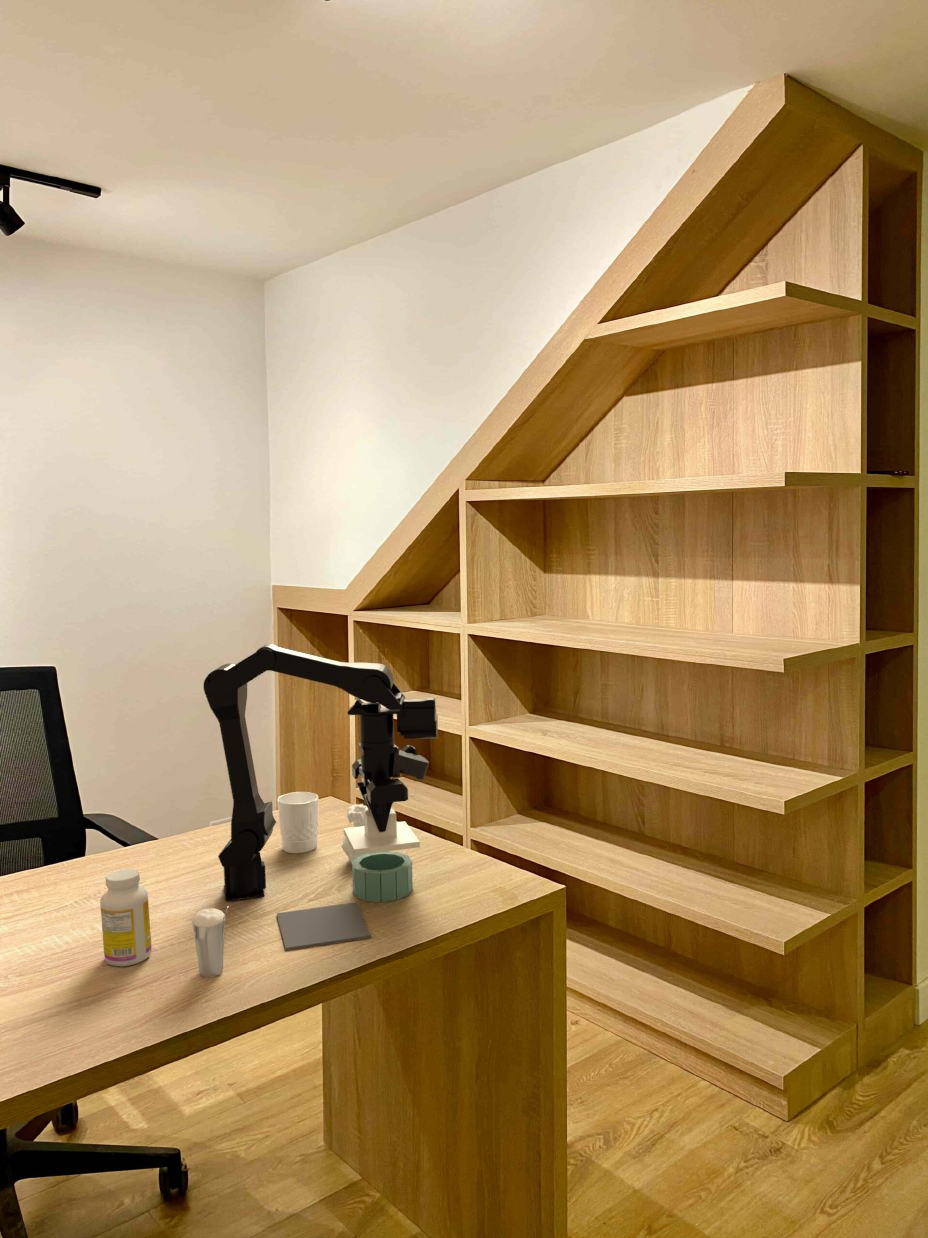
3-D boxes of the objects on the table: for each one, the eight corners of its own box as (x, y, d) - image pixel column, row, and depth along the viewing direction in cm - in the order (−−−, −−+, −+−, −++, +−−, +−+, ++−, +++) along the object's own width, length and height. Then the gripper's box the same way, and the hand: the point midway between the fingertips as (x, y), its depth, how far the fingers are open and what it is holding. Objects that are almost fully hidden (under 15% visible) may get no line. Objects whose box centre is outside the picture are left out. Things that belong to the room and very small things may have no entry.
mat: (285, 950, 141) (285, 948, 141) (276, 915, 154) (276, 913, 154) (371, 937, 145) (371, 935, 145) (356, 904, 158) (355, 902, 158)
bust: (387, 860, 184) (360, 808, 187) (409, 843, 179) (381, 791, 183) (342, 879, 174) (314, 825, 178) (365, 862, 170) (336, 807, 173)
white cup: (328, 844, 186) (326, 795, 185) (301, 857, 180) (299, 806, 178) (298, 838, 190) (296, 789, 189) (270, 850, 184) (268, 800, 183)
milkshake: (224, 982, 132) (221, 913, 131) (189, 979, 133) (185, 910, 132) (238, 966, 137) (235, 900, 136) (204, 963, 138) (200, 897, 137)
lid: (354, 855, 155) (353, 826, 155) (343, 834, 166) (342, 806, 165) (419, 847, 158) (418, 818, 158) (405, 826, 169) (404, 799, 168)
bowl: (359, 905, 157) (358, 876, 157) (349, 883, 167) (348, 855, 166) (417, 897, 160) (417, 868, 160) (404, 875, 170) (403, 848, 169)
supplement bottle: (136, 943, 145) (131, 862, 143) (160, 955, 141) (155, 872, 139) (95, 960, 140) (89, 876, 138) (119, 973, 136) (114, 887, 134)
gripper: (437, 747, 153) (439, 841, 155) (411, 723, 171) (413, 807, 173) (369, 754, 150) (372, 849, 152) (350, 729, 168) (353, 814, 170)
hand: (380, 828), depth 162 cm, fingers closed on lid, 3 cm apart
